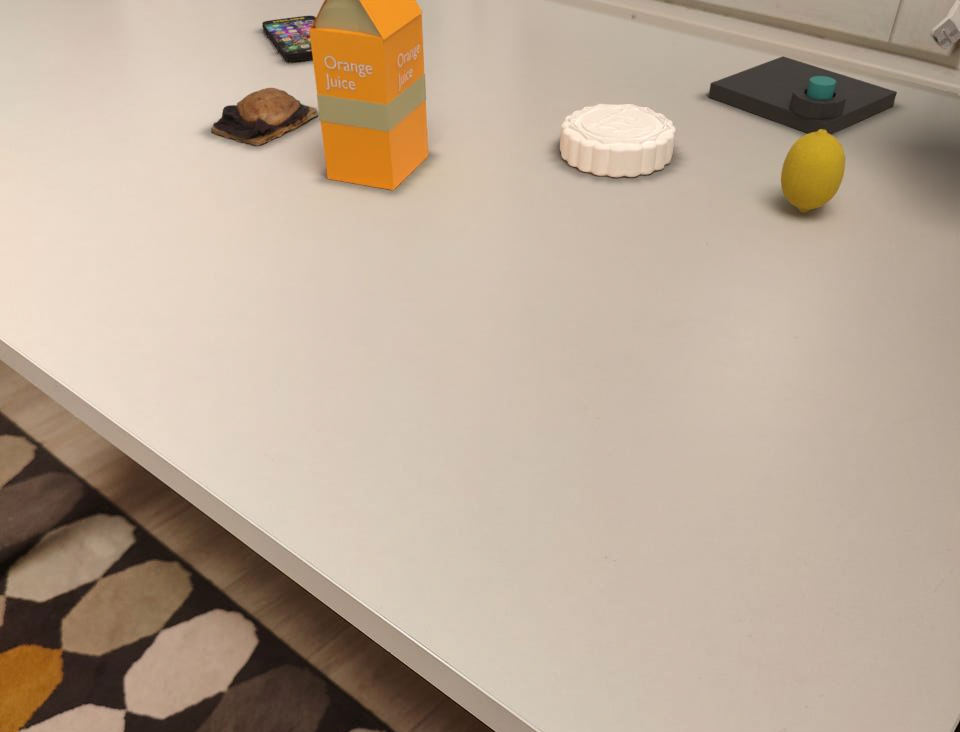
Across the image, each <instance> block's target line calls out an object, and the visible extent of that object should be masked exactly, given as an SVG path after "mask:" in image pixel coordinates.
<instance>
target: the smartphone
mask: <svg viewBox="0 0 960 732" xmlns="http://www.w3.org/2000/svg"><path fill="white" fill-rule="evenodd" d="M316 17H317V16H315V15H301V16H293V17H285V18H278V19H277V18H276V19H270V20H265V21H262V29H263V31H264V33H265V34H266V35H267V37H268V38H269V40H270V41H271V42H272V43H273V45H274V46H275V47H276V49H277V50H278V51H279V53H280V54H281V55H282V57H283V58H284V59H285V60H286V61H288V62H299V61H306V60H313V56H312V48H311V39H310V32H309V29H310V28H311V27H312V25H313V23H314V21H315V19H316Z"/></svg>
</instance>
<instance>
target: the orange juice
mask: <svg viewBox="0 0 960 732" xmlns="http://www.w3.org/2000/svg"><path fill="white" fill-rule="evenodd" d="M423 13H424V12H423V10H422V8H421V6H420V5H419V4H418V2H417V0H324V1H323V2H322V5H321V7H320V9H319V11H318V13H317V15H316V16H315V17H316V19H315V21H314V23H313V25H312V27H311V28H310V29H309V32H310V39H311V48H312V56H313V59H312V62H313V70H314V79H315V86H316V88H315V89H316V101H317V108H318V115H319V122H320V126H321V129H320V130H321V136H322V144H323V152H324V160H325V168H326V176H327V179H328V180H332V181H338V182H345V183H351V184H355V185H361V186H367V187H373V188H377V189H384V190H391V191H395V189H396V188H397V187H398V186H400V184H402V183H403V182H404V181H405V180H406V179H407V178H408V177H409V176H410V175H411V174H412V173H413V172H414V171H415V170H416V169H417V168H418V167H419V166H420V165H421V164H422V163H423V162H424V161H425V160H426V159H427V158H428V157H429V144H428V143H429V141H428V120H427V119H428V118H427V117H428V116H427V88H426V87H427V86H426V73H425V56H424V37H423Z"/></svg>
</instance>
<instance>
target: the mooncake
mask: <svg viewBox="0 0 960 732" xmlns="http://www.w3.org/2000/svg"><path fill="white" fill-rule="evenodd" d="M676 135H677V128H676V127H675V126H674V123H673V121H672V120H671V119H669V118H667V117H666V116H665V114H663V113H659V112H655V110H653V109H651V108H650V107H646V106H639V105H636V104H634V103H627V104H621V103H620V104H619V103H618V104H617V103H616V104H607V103H597V104H595V105H592V106H590V105H589V106H583V108H582V109H578V110H575V111H574V110H573V112H571V114H570V115H567V116H565V117H564V120H563V122H562V123H561V124H560V137H559V139H560V141H559V151H560V152H561V155H560V156H561V159H563V160H564V161H567V164H568V165H569V166H570V167H573V168H578V170H579V171H581V172H582V173H591V174H593V175H594V176H600V177H604V176H608V177H611V178H621V177H627V178H635V177H638V176H640V175H643V176H647V175H650V174H652V173H653V172H655V171H661V170H663V169H664V168H665V166H666V165H668V164H670V163H671V162H672V156H673V155H674V149H675V148H674V147H675V142H676Z"/></svg>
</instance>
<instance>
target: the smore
mask: <svg viewBox="0 0 960 732" xmlns="http://www.w3.org/2000/svg"><path fill="white" fill-rule="evenodd" d="M300 101H301V100H299V99H297V98H296V97H294V96H293V95H291V94H289V93H288V92H287V91H285V90H282V89H279V88H275V87H265V88H263V89H260V90H256V91H253V92H251V93H248V95H246V96H245V97H243V98H242V99H240V100H239V101H238V102H237V103H236V104H230V105H226V106H224V107H223V108H222V113H221V118H219V119H218V120H217V121H216V122H213V124H212V126H211V127H210V131H211V133H213V134H214V135H219V136H221V137H224V138H226V139H233V140H235V141H236V142H238V143H239V142H240V143H241V142H243V143H245V144H249V145H252V146H257V147H259V146H260V145H263V144H265V143H269V142H271V141H272V140H275V138H278V137H279V138H280V137H282V135H284V134H285V132H288V131H291V130H296V129H297V128H299V127H300V126H301V125H302V124H305V123H306V122H308V121H309V120H311V119H313V118H315V117H318V115H319V112H318V110H317V108H316V107H313V106H311V105H305V104H302V103H301V102H300Z"/></svg>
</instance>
